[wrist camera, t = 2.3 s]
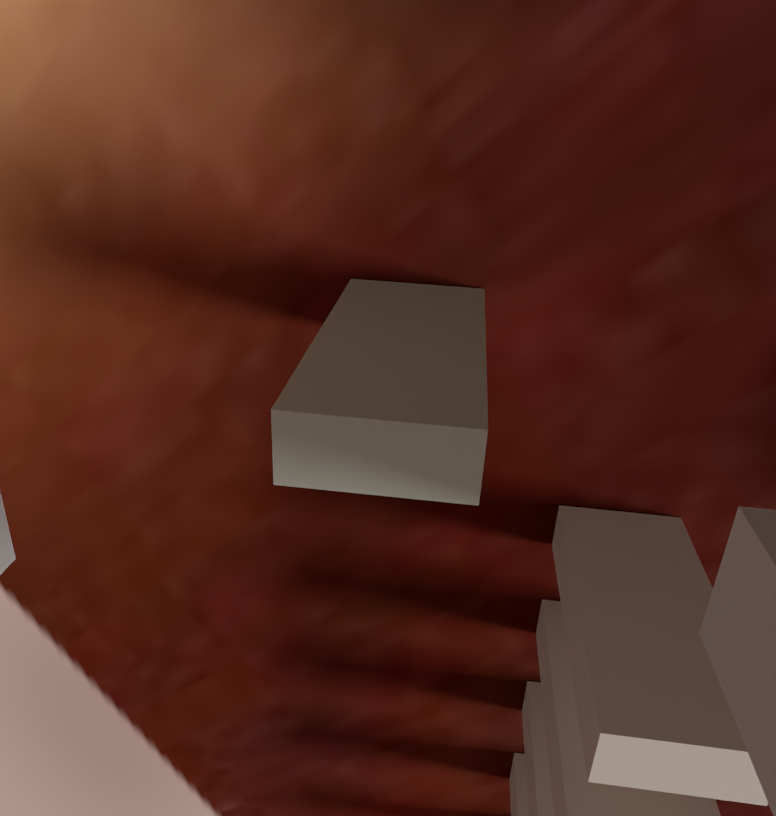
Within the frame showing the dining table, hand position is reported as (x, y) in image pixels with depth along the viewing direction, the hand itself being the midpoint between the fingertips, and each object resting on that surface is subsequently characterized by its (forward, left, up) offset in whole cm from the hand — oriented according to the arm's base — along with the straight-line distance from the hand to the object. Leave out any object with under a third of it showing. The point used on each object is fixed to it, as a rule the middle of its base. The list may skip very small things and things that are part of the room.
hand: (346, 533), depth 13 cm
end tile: (0, 0, -12) cm, 12 cm away
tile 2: (+8, +8, -12) cm, 17 cm away
